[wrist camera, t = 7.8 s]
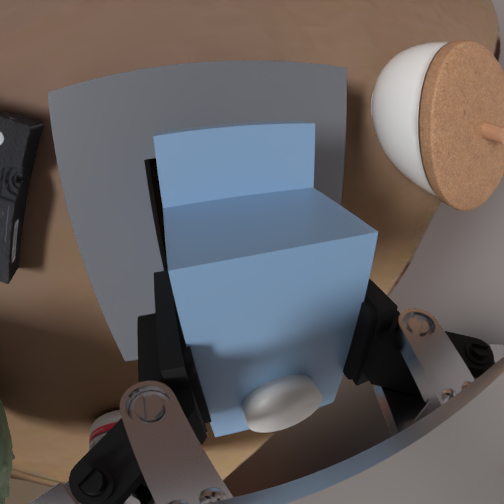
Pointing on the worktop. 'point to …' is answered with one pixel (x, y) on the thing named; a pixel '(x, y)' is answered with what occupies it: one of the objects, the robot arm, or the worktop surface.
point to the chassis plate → (142, 149)
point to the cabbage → (5, 455)
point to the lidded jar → (443, 119)
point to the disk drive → (14, 184)
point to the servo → (260, 270)
